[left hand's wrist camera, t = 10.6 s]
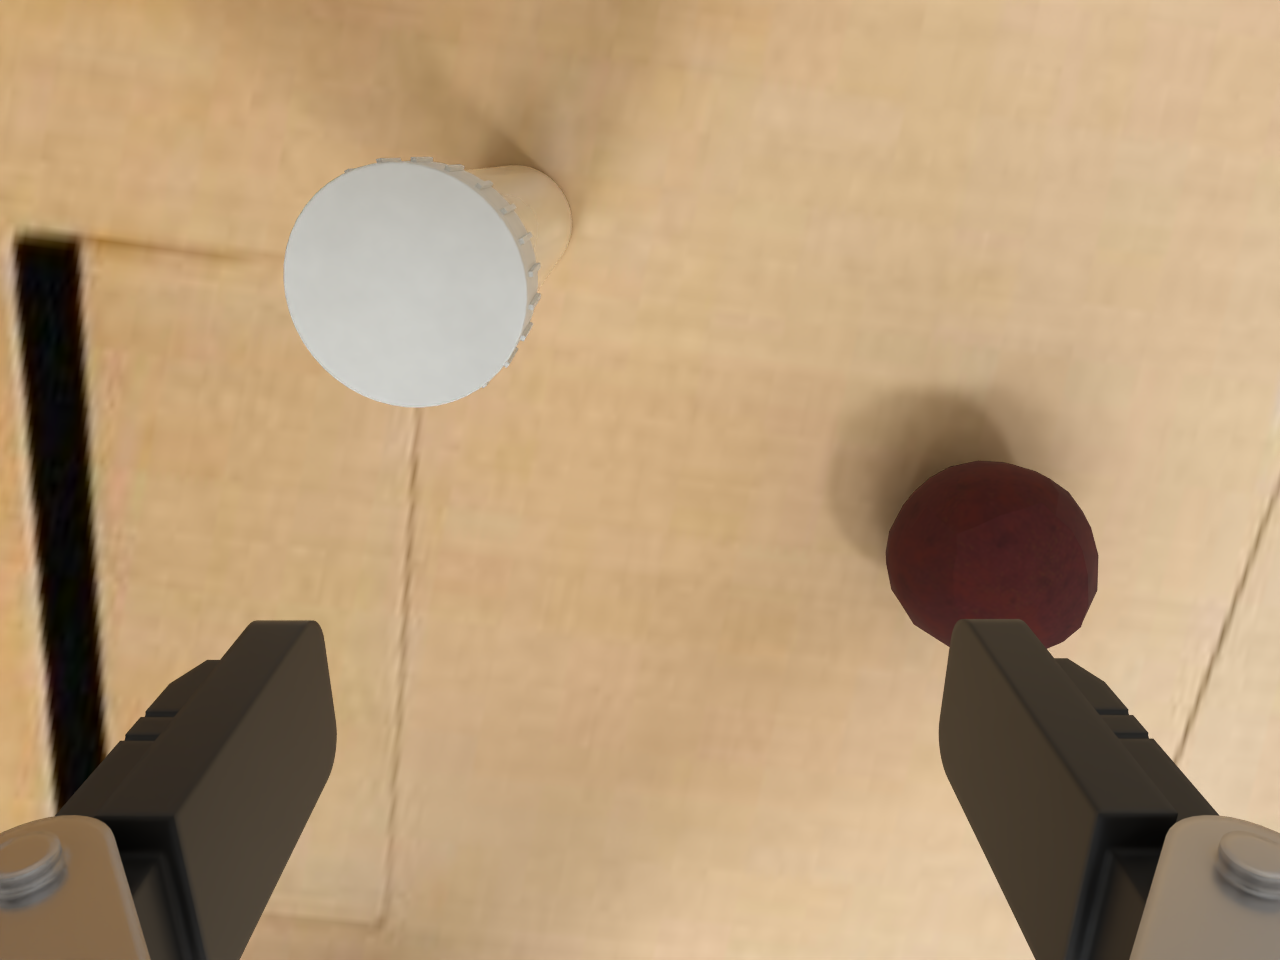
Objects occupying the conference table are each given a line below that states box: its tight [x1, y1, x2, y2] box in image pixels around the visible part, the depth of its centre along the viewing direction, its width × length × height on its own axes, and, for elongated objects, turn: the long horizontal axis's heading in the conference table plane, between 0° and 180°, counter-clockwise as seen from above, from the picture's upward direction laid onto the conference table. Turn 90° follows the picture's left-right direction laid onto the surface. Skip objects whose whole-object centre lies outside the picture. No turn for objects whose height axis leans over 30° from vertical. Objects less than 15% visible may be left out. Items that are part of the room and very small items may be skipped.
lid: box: [284, 157, 541, 407], centre depth 18 cm, size 5×5×2 cm
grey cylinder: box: [465, 165, 572, 292], centre depth 25 cm, size 4×4×17 cm
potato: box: [886, 461, 1098, 649], centre depth 34 cm, size 7×8×7 cm
